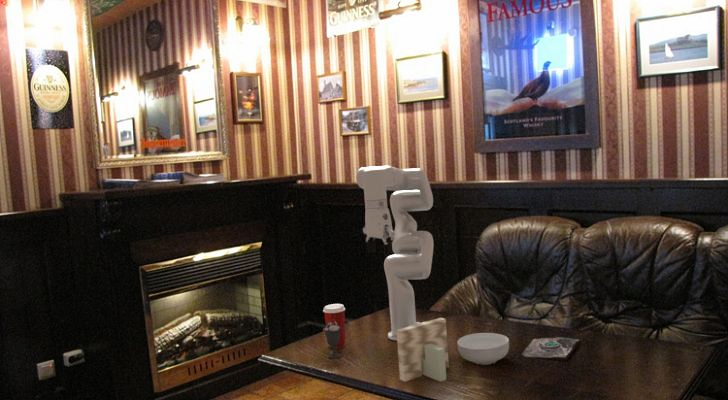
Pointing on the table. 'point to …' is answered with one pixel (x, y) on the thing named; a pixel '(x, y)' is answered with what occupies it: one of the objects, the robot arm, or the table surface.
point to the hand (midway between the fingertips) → (380, 254)
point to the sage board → (434, 362)
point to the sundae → (333, 337)
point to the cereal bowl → (483, 347)
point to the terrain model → (551, 348)
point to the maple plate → (419, 346)
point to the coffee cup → (336, 319)
